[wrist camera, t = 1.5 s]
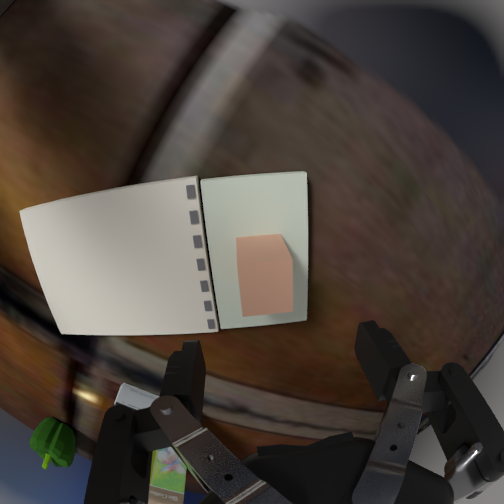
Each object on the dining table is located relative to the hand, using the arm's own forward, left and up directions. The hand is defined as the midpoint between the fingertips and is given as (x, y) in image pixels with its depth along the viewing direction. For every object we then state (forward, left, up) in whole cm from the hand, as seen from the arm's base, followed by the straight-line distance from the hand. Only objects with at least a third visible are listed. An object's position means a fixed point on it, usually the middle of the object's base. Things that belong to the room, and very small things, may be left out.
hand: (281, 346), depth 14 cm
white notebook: (0, -13, -12) cm, 18 cm away
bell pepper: (+30, -37, -12) cm, 49 cm away
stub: (0, 0, -12) cm, 12 cm away
